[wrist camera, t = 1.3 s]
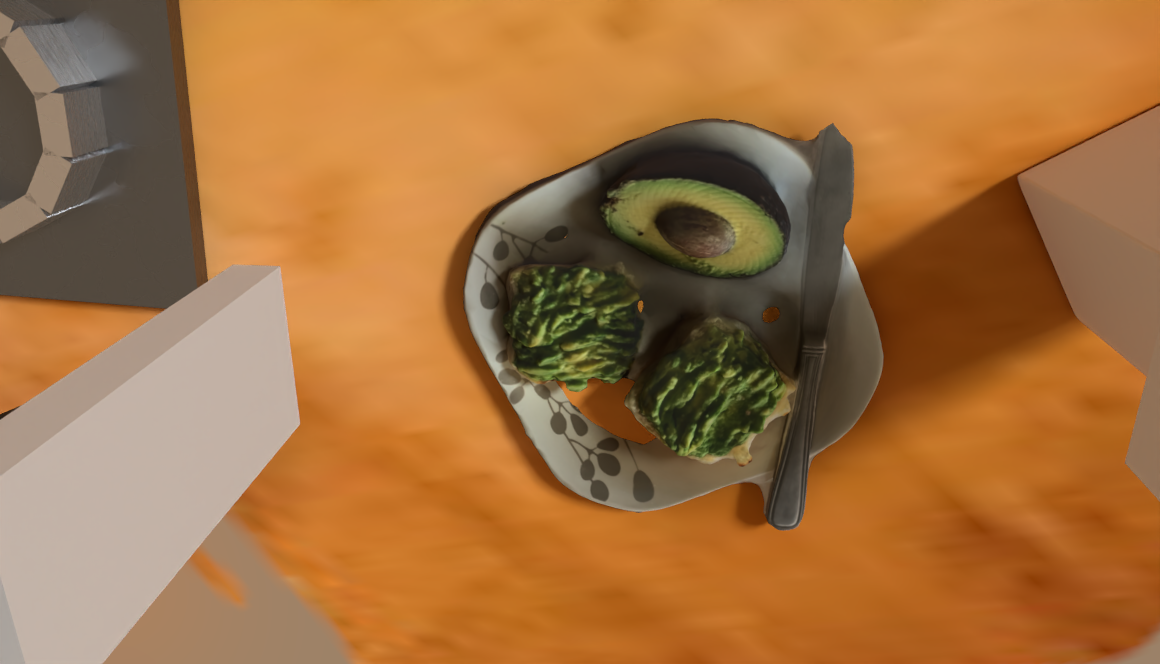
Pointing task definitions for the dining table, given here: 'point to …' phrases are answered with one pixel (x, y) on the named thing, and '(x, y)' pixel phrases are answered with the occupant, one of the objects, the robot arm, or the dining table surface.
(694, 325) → the salad plate
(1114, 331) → the milk carton
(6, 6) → the ring collar
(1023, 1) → the dining table surface
